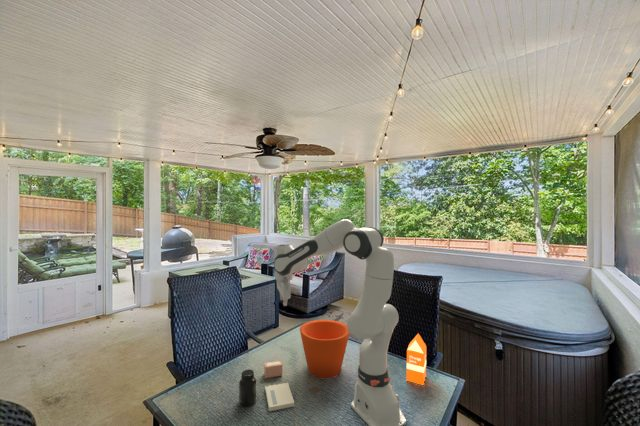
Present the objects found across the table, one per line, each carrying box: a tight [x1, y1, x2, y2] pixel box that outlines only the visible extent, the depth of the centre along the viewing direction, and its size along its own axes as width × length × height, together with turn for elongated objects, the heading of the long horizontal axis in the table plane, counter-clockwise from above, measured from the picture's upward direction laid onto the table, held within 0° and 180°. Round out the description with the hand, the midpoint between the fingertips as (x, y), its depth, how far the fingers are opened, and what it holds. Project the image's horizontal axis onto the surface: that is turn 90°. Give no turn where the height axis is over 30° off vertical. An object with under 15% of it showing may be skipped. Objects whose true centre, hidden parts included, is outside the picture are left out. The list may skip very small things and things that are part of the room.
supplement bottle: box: [238, 369, 257, 408], centre depth 112 cm, size 7×7×12 cm
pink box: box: [263, 360, 283, 379], centre depth 132 cm, size 4×8×5 cm, turn 108°
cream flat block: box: [264, 381, 295, 412], centre depth 115 cm, size 14×10×2 cm
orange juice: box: [406, 332, 427, 386], centre depth 130 cm, size 8×9×20 cm
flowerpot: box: [299, 319, 350, 380], centre depth 137 cm, size 25×25×20 cm
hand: (283, 302), depth 142 cm, fingers open, 8 cm apart
